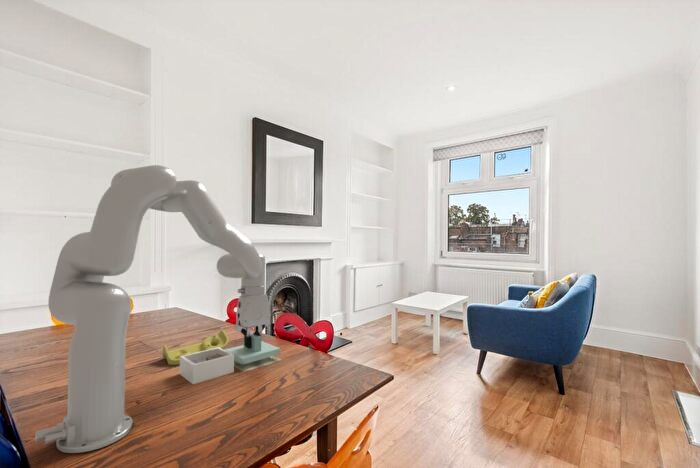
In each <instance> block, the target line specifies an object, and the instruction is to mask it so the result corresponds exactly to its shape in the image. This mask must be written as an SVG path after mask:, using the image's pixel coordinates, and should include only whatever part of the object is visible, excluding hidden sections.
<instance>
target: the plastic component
mask: <svg viewBox="0 0 700 468" xmlns="http://www.w3.org/2000/svg"><path fill="white" fill-rule="evenodd" d="M229 339H230V338H229V335H228V334H227V333H226V330H220V331H219V333H217V334H216V335H214V334H213V335H212V336H208V337H206V338H205V339H204V340H203V341H202V342H198V343H195V344H192V345H187V346H182V347H180V348H176V349H171V350H169V348H168V346H167V345H166V344H164V345H163V346H162V353H161V355H162V357H163V358H164V359H166V362H167V363H168V365H171V366H177V365H180V356H183V355H188V354H192V353H196V352H201V351H205V350H209V349H213V348H218V347H220V348H222V349H225V347H226V346H227V345H228V343H229Z"/></svg>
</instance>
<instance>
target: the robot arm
mask: <svg viewBox="0 0 700 468" xmlns="http://www.w3.org/2000/svg"><path fill="white" fill-rule="evenodd" d="M148 210H154V211H160V212H166V213H182V214H183V215H184V217H185V219H186V220H187V221H188V222H189V225H191V227H192V228H193V230H194V232H195V233H196V234H197V236H198V238H199V239H200V240H202V241H203V242H205V243H207V244H209V245H212V246H214V247H217V248H219V249H221V250H223V251H225V252H227V254H224V255H222V256H220V257H219V259H218V260H217V262H216V270H217V272H218V274H219V275H221V276H223V278H224V277H225V278H231V279H241V285H240V288H238V289H237V293H238V294H240V295H239V297H238V301H237V306H236V317H235V318H236V321H235V322H236V323H235V325H234V328H233V330H234V331H236V332H240V333H241V334H242V335H243V345H245V347H247V348H249V349H250V348H251V344H252V336H250V333H251V328H254V332H253V334H255V335H258V336H260V337H261V338H262V336H261V335H262V334H263V330H264V329H265V328H266V327H267V326H269V325H270V324H271V321H270V303H269V302H270V301H269V298H268V294H267V293H265V292H266V289H265V288H266V286H265V285H266V284H265V283H266V282H265V281H266V257H265V254H262V253H258V250H257V249H256V247H255V246H254V244H253V243H252V242H251V241H250V240H249V238H247V237H246V236H245V235H243V234H242V233H241V232H240V231H239V230H237V229H236V228H235V227H233V226H232V225H230V224H229V223H228V222H227V220H226V219H225V217H224V216H223V214H222V213H221V211H220V209H219V207H218V206H217V205H216V203H215V200H214V199H213V198H212V196H211V194H210V193H209V191H208V190H207V188H206V187H205V185H204V184H202V182H199V181H197V180H189V179H188V180H177V175H176V174H175V172H174V171H173V170H172V169H170V168H169V167H167V166H164V165H158V164H157V165H156V164H153V165H147V166H141V167H140V166H139V167H133V168H128V169H123V170H120V171H118V172H117V173H116V174H114V176H113V177H112V179H111V182H110V186H109V187H108V188H107V189H106V190H105V192H104V193H103V195H102V197H101V198H100V201H99V203H98V205H97V209H96V212H95V214H94V217H93V221H92V225H91V227H90V231H86V232H81V233H78V234H75V235H73V236H72V237H70V238H69V239H68V240H67V241H66V242H65V243H64V245H63V247H62V248H61V250H60V252H59V256H58V258H57V262H56V267H55V270H54V275H53V278H52V282H51V286H50V290H49V294H48V295H49V296H48V301H47V302H48V303H47V304H48V309H49V312H50V315H51V316H52V317H53V318H54V319H55V320H57V321H58V322H60V323H64V324H68V325H71V326H74V330H73V333H72V334H73V335H72V337H71V340H70V343H69V348H68V358H67V365H68V366H67V367H68V369H67V370H68V375H67V379H68V380H67V414H66V416H63V421H62V422H59V423H57V424H56V425H55V426H51V427H49V428H48V427H47V428H44V429H43V428H42V429H40V430H36V431H35V443H39V442H42V441H44V443H45V445H47V444H50V443H54V442H55V441H56V448H57V450H58V451H60V452H62V453H66V454H78V453H80V454H82V453H86V452H91V451H94V450H99V449H102V448H104V447H106V446H107V447H108V446H109V445H112V444H114V443H116V442H117V441H119V440H121V439H123V438H124V437H125V436H126V435H127V434H128V433H130V431H131V430H132V429H133V418H132V417H131V416H129V415H128V414H125V397H126V396H125V394H126V393H125V390H126V389H125V388H126V387H125V386H126V384H125V383H126V341H127V340H126V339H127V330H128V326H129V320H130V317H131V313H132V312H131V311H132V301H131V297H130V296H129V294H128V293H127V291H126V290H125V289H123V288H122V287H121V286H119V285H116V284H113V283H110V282H104V281H103V280H104V278H105V277H114V276H115V277H116V276H120V275H122V274H124V273H127V271H128V270H129V269H130V268H131V266H132V264H133V262H134V258H135V254H136V253H135V252H136V248H137V243H138V240H139V239H138V238H139V233H140V229H141V226H142V221H143V218H144V217H145V214H146V212H147V211H148Z"/></svg>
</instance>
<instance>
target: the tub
mask: <svg viewBox="0 0 700 468" xmlns="http://www.w3.org/2000/svg"><path fill="white" fill-rule="evenodd" d="M218 354H219V355H221V356H223V357H220V358H216V359H212V360H208V361H204V362H200V363H196V364H195V363H193V362H192V361H194V360H198V359H202V358H203V359H205V360H206V357H210V356H214V355H218ZM232 373H235V367H234V355H233V354H232V353H230V352H228V351H226V350H225V348H223V349H222V348H220V347H218V348H213V349H209V350H205V351H201V352H196V353H192V354H188V355H183V356H180V364H179V375H180V376H182V377H183V378H184V379H185V380H186V381H188V382H189V383H190V384H192V385H196V384H199V383H202V382H206V381H209V380H213V379H216V378H219V377H222V376H226V375H229V374H232Z"/></svg>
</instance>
